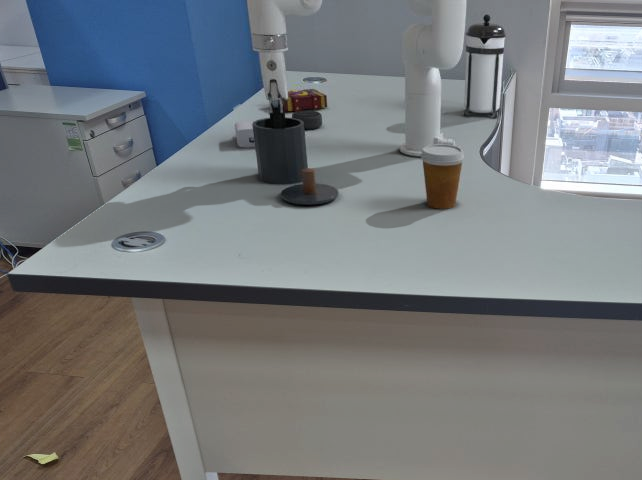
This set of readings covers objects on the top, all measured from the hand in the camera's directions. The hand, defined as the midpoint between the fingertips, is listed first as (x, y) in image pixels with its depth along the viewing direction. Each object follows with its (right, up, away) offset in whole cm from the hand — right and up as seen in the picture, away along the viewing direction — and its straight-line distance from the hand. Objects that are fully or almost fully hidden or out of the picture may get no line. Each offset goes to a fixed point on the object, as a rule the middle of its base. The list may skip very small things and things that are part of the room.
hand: (278, 126), depth 152 cm
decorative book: (-11, +31, +68) cm, 76 cm away
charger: (-16, +8, +33) cm, 38 cm away
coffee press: (+50, +30, +71) cm, 92 cm away
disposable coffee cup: (+38, -20, -6) cm, 43 cm away
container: (0, -10, +6) cm, 12 cm away
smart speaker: (-4, +17, +47) cm, 50 cm away
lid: (+9, -18, -6) cm, 20 cm away
